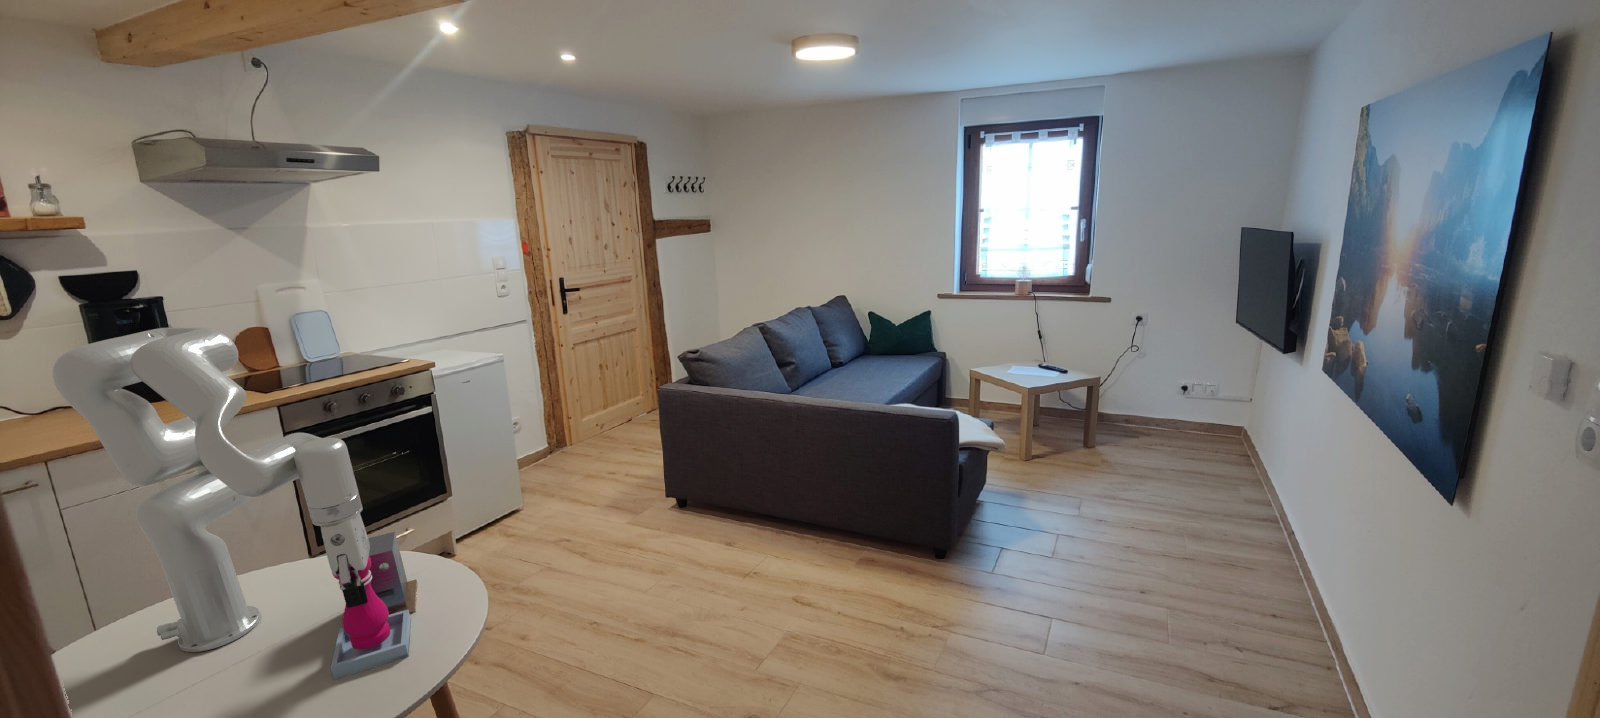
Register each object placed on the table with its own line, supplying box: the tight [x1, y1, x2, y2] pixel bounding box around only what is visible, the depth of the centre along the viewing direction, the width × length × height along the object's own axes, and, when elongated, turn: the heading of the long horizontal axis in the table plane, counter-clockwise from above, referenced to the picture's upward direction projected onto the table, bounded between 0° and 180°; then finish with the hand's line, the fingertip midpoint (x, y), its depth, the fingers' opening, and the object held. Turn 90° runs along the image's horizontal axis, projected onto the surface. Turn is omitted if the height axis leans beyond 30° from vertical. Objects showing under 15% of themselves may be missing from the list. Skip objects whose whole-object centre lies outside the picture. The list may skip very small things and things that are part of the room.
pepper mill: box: [331, 556, 390, 650], centre depth 123 cm, size 7×7×20 cm
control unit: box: [368, 531, 418, 615], centre depth 137 cm, size 11×11×14 cm
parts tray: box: [330, 610, 412, 680], centre depth 126 cm, size 12×12×3 cm
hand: (359, 594), depth 123 cm, fingers open, 5 cm apart
